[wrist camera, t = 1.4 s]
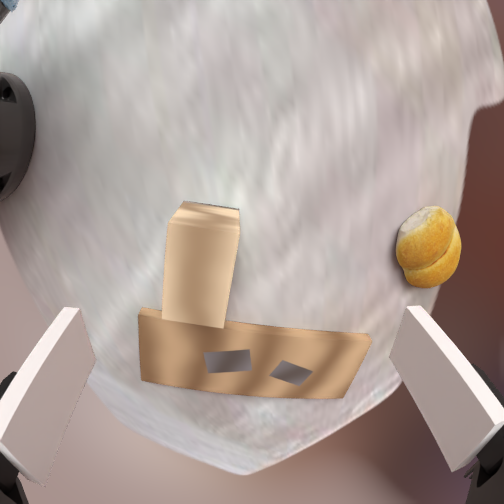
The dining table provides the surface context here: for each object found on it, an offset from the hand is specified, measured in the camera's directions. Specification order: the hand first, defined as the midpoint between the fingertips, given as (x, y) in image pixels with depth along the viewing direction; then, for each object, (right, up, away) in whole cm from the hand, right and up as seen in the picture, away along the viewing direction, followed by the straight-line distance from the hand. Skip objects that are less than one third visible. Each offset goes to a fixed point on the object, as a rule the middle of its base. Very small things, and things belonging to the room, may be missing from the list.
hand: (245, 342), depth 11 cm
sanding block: (-4, +4, +17) cm, 18 cm away
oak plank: (0, -9, +23) cm, 24 cm away
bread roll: (+19, +4, +19) cm, 27 cm away
